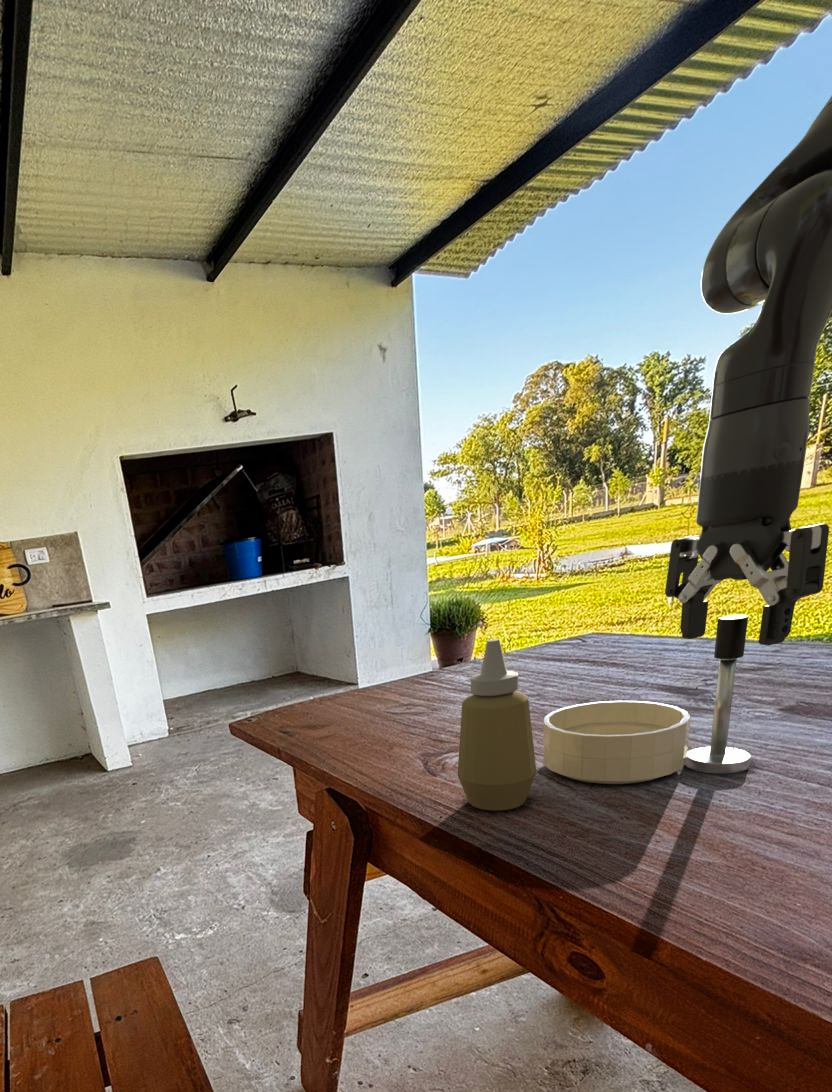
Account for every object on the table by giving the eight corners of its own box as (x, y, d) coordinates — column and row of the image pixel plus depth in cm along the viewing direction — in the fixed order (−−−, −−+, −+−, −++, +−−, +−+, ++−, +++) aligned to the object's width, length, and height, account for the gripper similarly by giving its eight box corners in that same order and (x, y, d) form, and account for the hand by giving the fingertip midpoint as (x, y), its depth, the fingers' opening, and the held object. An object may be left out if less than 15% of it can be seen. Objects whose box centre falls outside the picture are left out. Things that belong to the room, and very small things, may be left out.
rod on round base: (715, 753, 71) (731, 611, 65) (763, 766, 65) (785, 612, 60) (672, 763, 70) (684, 621, 64) (717, 777, 65) (735, 623, 59)
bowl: (618, 739, 80) (620, 694, 78) (718, 769, 67) (724, 716, 64) (518, 763, 78) (518, 717, 76) (601, 798, 65) (603, 745, 63)
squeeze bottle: (540, 789, 70) (541, 629, 63) (531, 818, 63) (532, 644, 57) (466, 787, 74) (460, 636, 68) (451, 814, 68) (443, 651, 61)
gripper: (872, 442, 51) (836, 639, 57) (715, 472, 64) (699, 629, 70) (795, 456, 50) (766, 654, 56) (652, 483, 63) (641, 641, 69)
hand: (729, 640), depth 63 cm, fingers open, 8 cm apart
